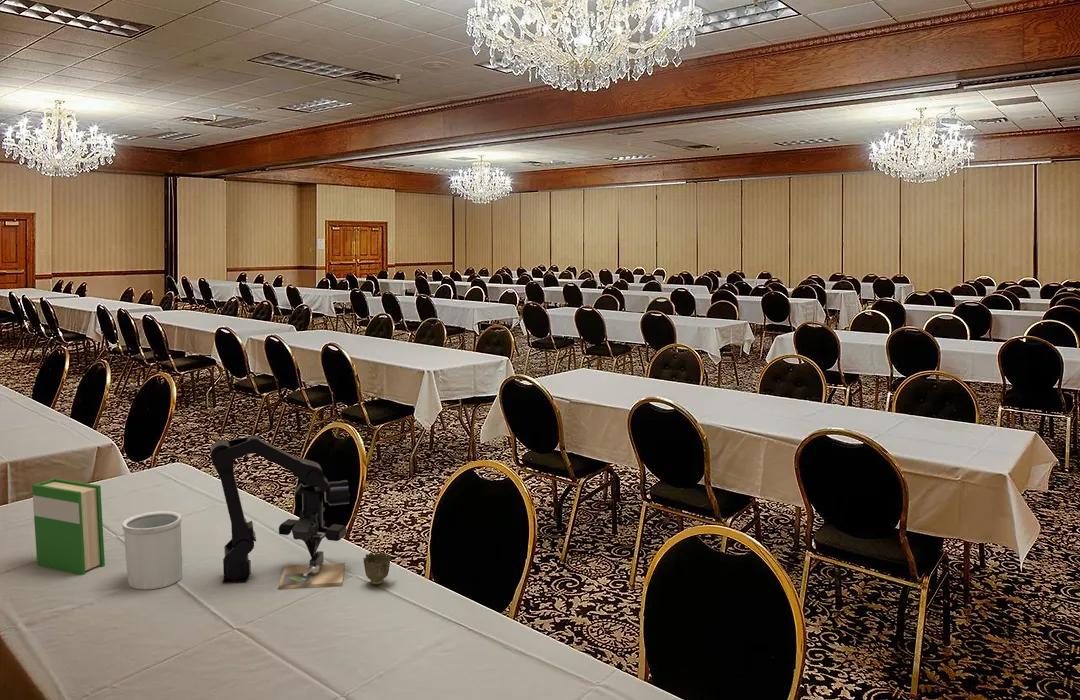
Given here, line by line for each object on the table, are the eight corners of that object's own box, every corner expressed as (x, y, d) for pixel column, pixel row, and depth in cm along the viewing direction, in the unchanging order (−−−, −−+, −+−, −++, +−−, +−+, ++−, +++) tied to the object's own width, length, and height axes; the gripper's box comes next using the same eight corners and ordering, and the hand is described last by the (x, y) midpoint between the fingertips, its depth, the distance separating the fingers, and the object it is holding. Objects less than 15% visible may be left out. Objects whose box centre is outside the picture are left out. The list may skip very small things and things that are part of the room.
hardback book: (104, 565, 240) (100, 485, 236) (82, 575, 233) (77, 492, 229) (60, 556, 246) (55, 478, 242) (37, 565, 239) (31, 485, 236)
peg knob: (311, 582, 227) (311, 570, 227) (298, 581, 228) (298, 569, 227) (326, 562, 241) (326, 551, 240) (314, 562, 241) (314, 551, 241)
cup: (384, 590, 226) (384, 562, 225) (359, 588, 228) (359, 560, 227) (394, 579, 234) (394, 552, 232) (370, 577, 235) (369, 550, 234)
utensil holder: (113, 583, 228) (110, 522, 225) (160, 565, 241) (158, 507, 238) (149, 595, 221) (146, 532, 218) (195, 575, 234) (193, 516, 231)
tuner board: (278, 589, 226) (278, 584, 226) (284, 569, 240) (284, 564, 239) (342, 585, 229) (342, 581, 229) (345, 566, 243) (345, 561, 242)
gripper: (268, 512, 232) (269, 565, 234) (330, 519, 228) (330, 572, 231) (288, 499, 243) (288, 550, 245) (347, 506, 239) (347, 557, 241)
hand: (312, 557), depth 240 cm, fingers closed
